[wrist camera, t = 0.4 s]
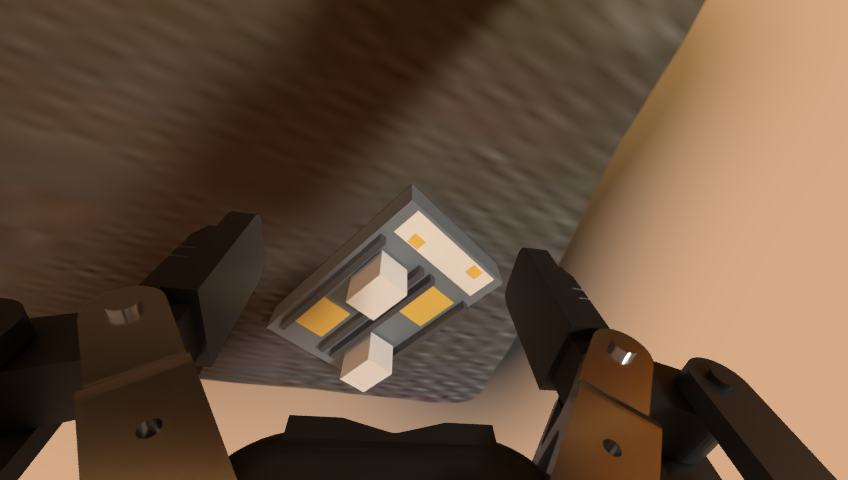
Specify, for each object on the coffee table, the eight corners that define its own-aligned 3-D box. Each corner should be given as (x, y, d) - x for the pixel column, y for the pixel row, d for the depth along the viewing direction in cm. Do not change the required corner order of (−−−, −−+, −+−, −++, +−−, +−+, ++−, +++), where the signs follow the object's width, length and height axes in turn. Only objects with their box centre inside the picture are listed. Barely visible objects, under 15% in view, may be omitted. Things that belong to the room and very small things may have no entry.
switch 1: (382, 250, 30) (379, 274, 27) (407, 270, 31) (407, 295, 29) (351, 276, 31) (345, 302, 29) (376, 294, 33) (373, 320, 30)
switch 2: (371, 331, 35) (368, 359, 33) (392, 346, 37) (391, 373, 34) (345, 351, 37) (339, 379, 34) (366, 364, 38) (363, 392, 35)
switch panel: (411, 183, 30) (412, 205, 27) (496, 263, 35) (505, 290, 32) (275, 306, 37) (262, 335, 34) (362, 358, 42) (358, 388, 39)
